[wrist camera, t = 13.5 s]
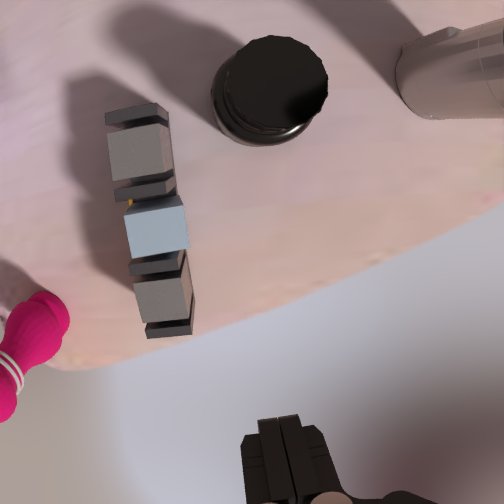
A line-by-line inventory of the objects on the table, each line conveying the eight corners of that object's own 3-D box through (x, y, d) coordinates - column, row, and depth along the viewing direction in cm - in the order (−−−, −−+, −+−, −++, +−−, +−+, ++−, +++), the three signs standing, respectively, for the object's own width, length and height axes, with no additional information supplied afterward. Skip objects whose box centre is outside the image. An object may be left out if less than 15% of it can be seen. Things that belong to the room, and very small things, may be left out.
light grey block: (131, 203, 30) (123, 215, 24) (178, 195, 31) (183, 205, 25) (137, 237, 31) (132, 258, 25) (183, 229, 32) (190, 247, 26)
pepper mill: (82, 313, 35) (10, 432, 16) (60, 347, 36) (-4, 459, 17) (38, 275, 33) (-60, 371, 14) (19, 313, 34) (-63, 409, 15)
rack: (122, 120, 29) (100, 114, 23) (168, 112, 30) (156, 102, 23) (154, 306, 36) (143, 339, 29) (195, 301, 36) (192, 334, 29)
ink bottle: (290, 56, 29) (328, 15, 18) (312, 134, 32) (361, 129, 21) (197, 77, 29) (189, 39, 17) (220, 158, 32) (224, 162, 20)
